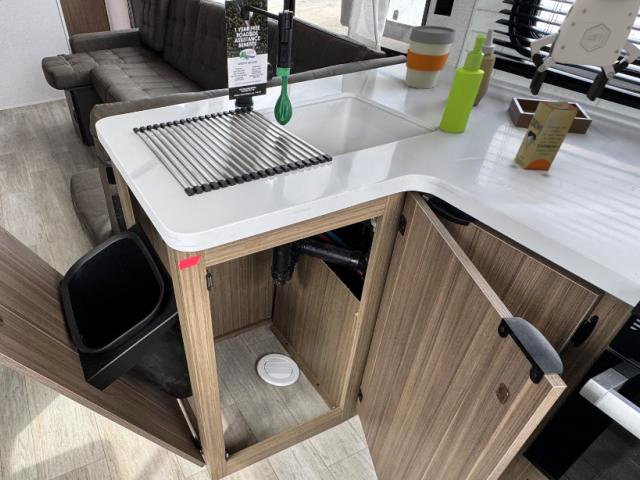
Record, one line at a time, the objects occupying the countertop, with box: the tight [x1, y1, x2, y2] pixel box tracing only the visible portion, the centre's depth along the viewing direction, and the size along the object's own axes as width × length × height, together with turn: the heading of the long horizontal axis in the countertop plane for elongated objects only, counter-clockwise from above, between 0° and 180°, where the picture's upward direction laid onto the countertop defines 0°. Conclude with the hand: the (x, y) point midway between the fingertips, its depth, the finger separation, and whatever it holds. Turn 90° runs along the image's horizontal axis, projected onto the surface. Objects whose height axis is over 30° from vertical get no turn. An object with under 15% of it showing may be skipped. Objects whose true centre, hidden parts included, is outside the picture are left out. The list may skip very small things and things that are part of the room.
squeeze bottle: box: [473, 28, 496, 106], centre depth 117 cm, size 8×8×18 cm
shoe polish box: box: [514, 100, 579, 171], centre depth 87 cm, size 5×5×12 cm
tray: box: [507, 96, 593, 135], centre depth 111 cm, size 16×14×3 cm
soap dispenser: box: [439, 33, 486, 134], centre depth 101 cm, size 6×7×20 cm
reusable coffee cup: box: [404, 25, 457, 89], centre depth 132 cm, size 13×13×15 cm
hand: (561, 96), depth 82 cm, fingers open, 9 cm apart
